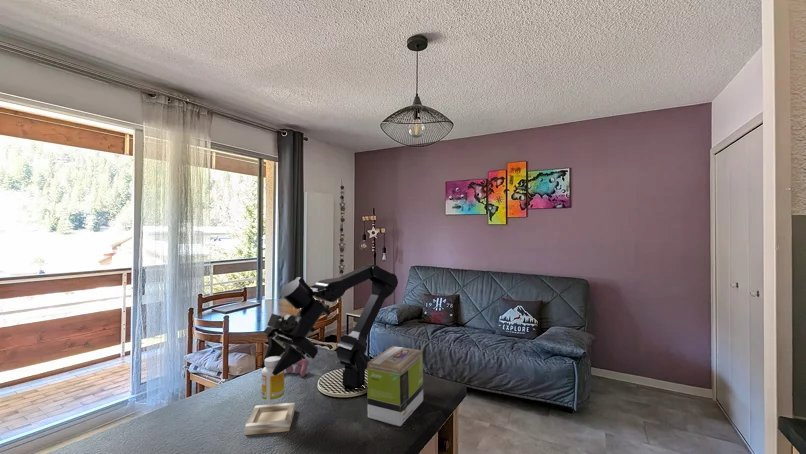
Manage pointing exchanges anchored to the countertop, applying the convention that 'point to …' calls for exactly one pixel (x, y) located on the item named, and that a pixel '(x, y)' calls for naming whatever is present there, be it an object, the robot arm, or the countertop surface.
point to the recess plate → (270, 418)
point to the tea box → (395, 384)
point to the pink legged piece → (299, 367)
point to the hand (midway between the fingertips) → (267, 371)
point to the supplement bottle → (272, 381)
